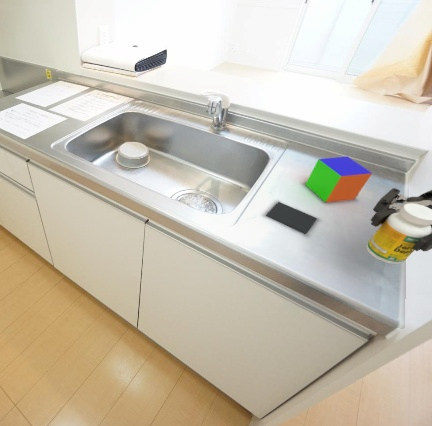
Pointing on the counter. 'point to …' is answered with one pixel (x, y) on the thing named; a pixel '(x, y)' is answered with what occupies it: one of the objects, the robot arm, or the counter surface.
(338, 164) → the cube
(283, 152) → the counter surface
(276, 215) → the mat
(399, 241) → the supplement bottle
